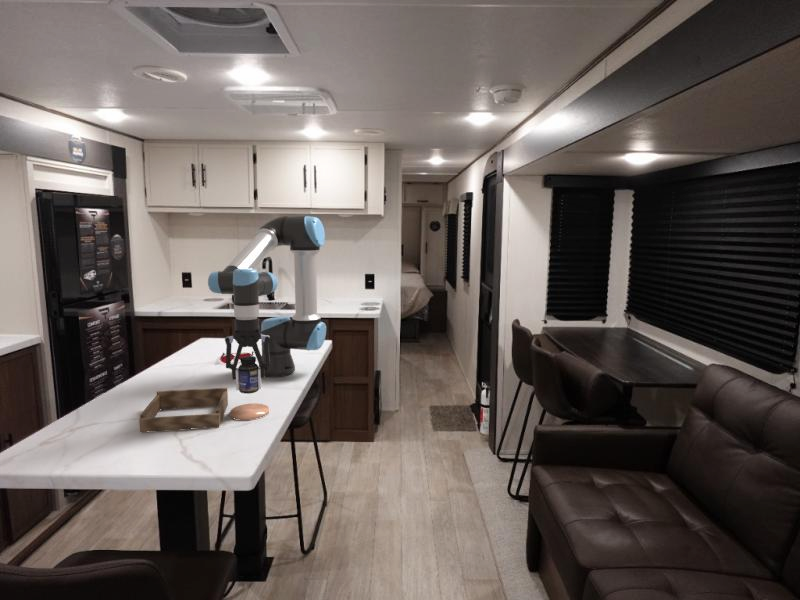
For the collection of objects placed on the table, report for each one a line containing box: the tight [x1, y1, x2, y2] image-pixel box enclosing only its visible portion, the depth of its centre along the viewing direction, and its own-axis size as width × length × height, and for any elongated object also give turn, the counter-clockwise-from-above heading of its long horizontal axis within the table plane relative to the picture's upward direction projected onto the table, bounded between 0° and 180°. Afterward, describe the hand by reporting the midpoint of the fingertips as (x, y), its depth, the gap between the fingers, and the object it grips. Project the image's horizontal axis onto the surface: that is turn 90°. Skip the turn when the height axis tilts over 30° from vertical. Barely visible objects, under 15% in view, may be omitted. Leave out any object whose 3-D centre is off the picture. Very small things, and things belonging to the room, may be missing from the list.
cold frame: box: [138, 387, 229, 433], centre depth 154 cm, size 22×20×6 cm
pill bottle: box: [237, 355, 260, 395], centre depth 156 cm, size 6×6×11 cm
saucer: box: [229, 402, 270, 421], centre depth 158 cm, size 12×12×1 cm
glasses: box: [219, 350, 255, 364], centre depth 225 cm, size 14×16×5 cm
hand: (249, 388), depth 157 cm, fingers closed on pill bottle, 6 cm apart
